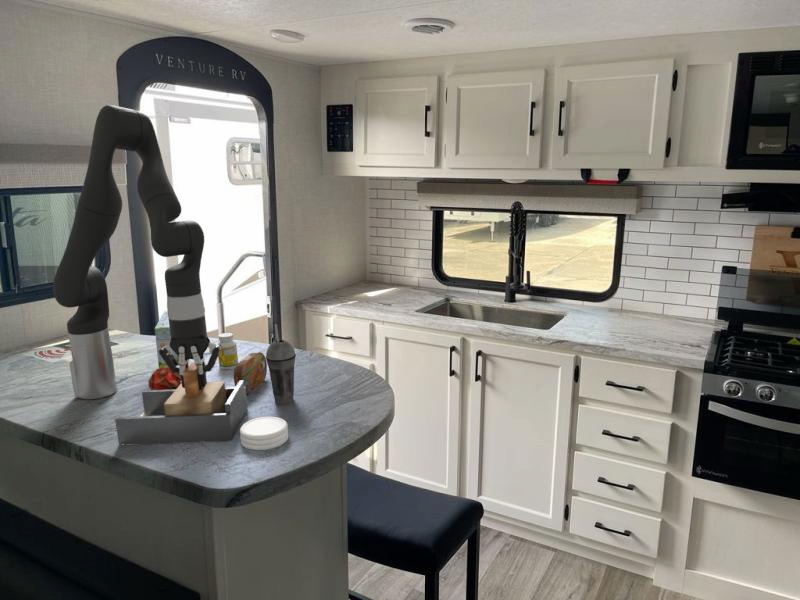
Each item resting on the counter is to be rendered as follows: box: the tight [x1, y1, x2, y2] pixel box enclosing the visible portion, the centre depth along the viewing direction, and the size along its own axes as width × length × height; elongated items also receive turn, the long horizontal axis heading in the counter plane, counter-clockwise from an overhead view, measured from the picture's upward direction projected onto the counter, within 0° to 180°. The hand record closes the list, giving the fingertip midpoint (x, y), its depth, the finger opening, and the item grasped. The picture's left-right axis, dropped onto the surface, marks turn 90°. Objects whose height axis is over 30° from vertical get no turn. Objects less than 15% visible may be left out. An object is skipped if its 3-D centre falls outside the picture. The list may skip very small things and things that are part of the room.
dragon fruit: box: [148, 367, 182, 390], centre depth 156 cm, size 8×8×12 cm
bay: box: [114, 380, 248, 446], centre depth 138 cm, size 24×16×8 cm, turn 92°
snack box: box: [154, 310, 180, 375], centre depth 177 cm, size 21×6×15 cm, turn 14°
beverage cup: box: [265, 323, 297, 405], centre depth 150 cm, size 7×7×20 cm
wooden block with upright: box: [164, 362, 227, 416], centre depth 138 cm, size 10×12×13 cm
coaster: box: [239, 416, 289, 451], centre depth 132 cm, size 10×10×4 cm
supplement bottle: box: [216, 332, 239, 370], centre depth 177 cm, size 5×5×10 cm
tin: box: [233, 351, 268, 395], centre depth 161 cm, size 15×3×8 cm, turn 168°
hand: (195, 388), depth 137 cm, fingers closed on wooden block with upright, 2 cm apart
